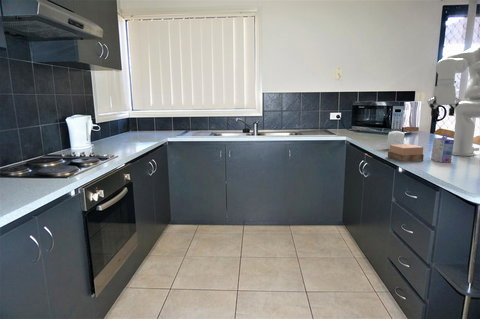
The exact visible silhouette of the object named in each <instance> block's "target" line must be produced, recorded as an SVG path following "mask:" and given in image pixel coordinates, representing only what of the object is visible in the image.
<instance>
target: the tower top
mask: <svg viewBox="0 0 480 319" xmlns="http://www.w3.org/2000/svg"><path fill="white" fill-rule="evenodd" d="M388 151H389V152H392V153H396V154H400V155H420V154H424V147H423V146H420V145H415V144H411V143H406V144H400V145H390V150H388Z"/></svg>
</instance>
